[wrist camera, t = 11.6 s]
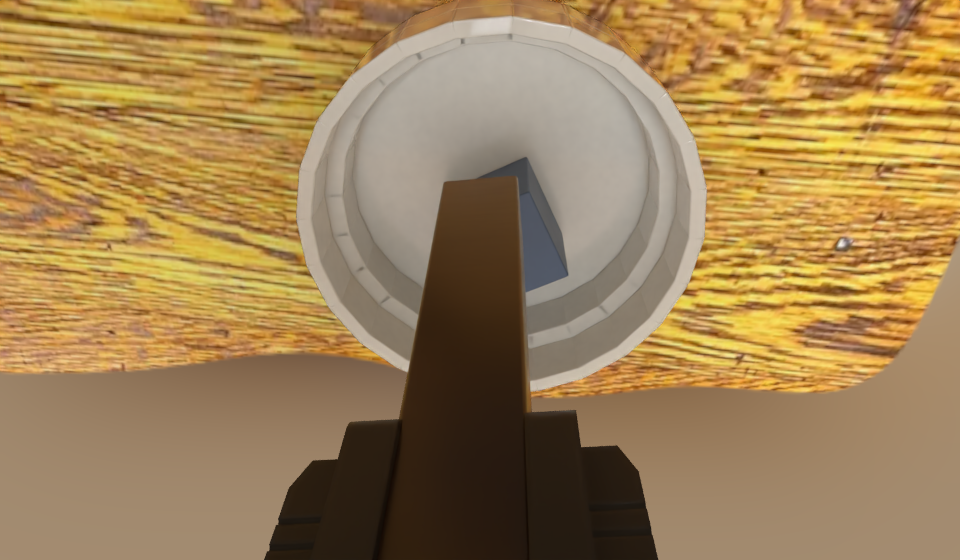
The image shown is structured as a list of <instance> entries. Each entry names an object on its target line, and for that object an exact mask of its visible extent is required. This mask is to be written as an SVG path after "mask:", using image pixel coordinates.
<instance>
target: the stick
mask: <svg viewBox="0 0 960 560" xmlns="http://www.w3.org/2000/svg"><path fill="white" fill-rule="evenodd" d="M530 412H532V411H531V390H530V370H529V351H528V331H527V311H526V292H525V272H524V252H523V236H522V223H521V211H520V198H519V186H518V178H517V176H505V177H493V178H481V179H469V180H457V181H446V182H444V183H443V187H442V193H441V198H440V203H439V209H438V214H437V219H436V225H435V230H434V235H433V241H432V246H431V251H430V257H429V262H428V267H427V273H426V278H425V283H424V289H423V294H422V299H421V304H420V310H419V315H418V320H417V326H416V331H415V336H414V342H413V347H412V352H411V358H410V363H409V368H408V374H407V379H406V384H405V390H404V395H403V400H402V406H401V411H400V417H399V419H401V420H402V424H401V429H400V435H399V440H398V446H397V451H396V457H395V462H394V468H393V473H392V479H391V484H390V490H389V495H388V501H387V506H386V512H385V517H384V523H383V528H382V534H381V539H380V545H379V550H378V556H377V560H529V534H528V505H527V477H526V448H525V419H524V413H530Z"/></svg>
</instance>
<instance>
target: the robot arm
mask: <svg viewBox="0 0 960 560" xmlns="http://www.w3.org/2000/svg"><path fill="white" fill-rule="evenodd" d="M524 419H525V448H526V477H527V505H528V534H529V560H658V557H657V553H656V548H655V544H654V539H653V536H652V533H651V526H650V521H649V517H648V512H647V509H646V504H645V498H644V494H643V489H642V485H641V480H640V476H639V471H638V470H637V469H636V468H635V467H634V465H633V464H632V463H631V462H630V460H629V459H628V458H627V457H626V456H625V454H624V453H623V452H622V451H621V450H620V448H619V447H618V446H599V447H581V444H580V437H579V430H578V423H577V422H578V421H577V414H576V410H570V411H549V412H530V413H524ZM401 424H402V420H401V419H398V420H397V419H396V420H377V421H359V422H350V423H349V424H348V426H347V428H346V432H345V435H344V439H343V442H342V446H341V450H340V453H339V457H338V459H335V460H318V461H317V460H316V461H312V462H311V463H310V464H309V466H308V467H307V468H306V469H305V470H304V471H303V473H302V474H301V475H300V476H299V477H298V478H297V479H296V481H295V482H294V483H293V484H292V485H291V486H290V487H289V489H288V492H287V495H286V498H285V501H284V504H283V507H282V510H281V513H280V516H279V518H278V520H279V523H278V525H276V527H275V530H274V533H273V536H272V539H271V541H270V544H269V545H270V550H269V551H268V552H267V553H266V556H265V559H264V560H377V556H378V550H379V545H380V539H381V534H382V528H383V523H384V517H385V512H386V506H387V501H388V495H389V490H390V484H391V479H392V473H393V468H394V462H395V457H396V451H397V446H398V440H399V435H400V429H401Z"/></svg>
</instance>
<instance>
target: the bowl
mask: <svg viewBox="0 0 960 560" xmlns="http://www.w3.org/2000/svg"><path fill="white" fill-rule="evenodd" d="M524 157H527V158H528V160H529V162H530V165H531V167H532V169H533V171H534V173H535V175H536V178H537V180H538V182H539V184H540V186H541V189H542V191H543V193H544V195H545V197H546V199H547V202H548V204H549V206H550V208H551V210H552V213H553V215H554V217H555V219H556V221H557V223H558V226H559V228H560V230H561V232H562V236H563V242H564V249H565V255H566V261H567V268H568V276H567V277H565V278H562V279H560V280H557V281H555V282H552V283H549V284H547V285H544V286H542V287H539V288H537V289H534V290H531V291H529V292H526V311H527V331H528V351H529V370H530V390H531V391H537V390H538V391H540V390H544V389H547V388H551V387H555V386H558V385H562V384H565V383H569V382H573V381H576V380H580V379H583V378H585V377H587V376H589V375H591V374H593V373H595V372H596V371H598V370H600V369H602V368H604V367H606V366H608V365H609V364H611V363H613V362H615V361H617V360H619V359H621V358H623V357H624V356H626V355H627V354H628V353H630V352H631V351H632V350H633V349H634V348H635V347H636V346H638V345H639V344H640V343H641V342H642V341H643V340H644V339H645V338H647V337H648V336H649V335H650V334H651V333H652V332H653V331H655V330H656V329H657V328H658V327H659V326H660V325H661V323H662V322H663V321H664V319H665V318H666V317H667V315H668V314H669V312H670V311H671V309H672V308H673V306H674V305H675V303H676V302H677V300H678V299H679V298H680V296H681V295H682V293H683V292H684V290H685V289H686V287H687V285H688V283H689V281H690V278H691V275H692V273H693V270H694V267H695V264H696V261H697V258H698V255H699V252H700V249H701V247H702V244H703V241H704V237H705V219H706V201H707V189H706V187H707V186H706V182H705V178H704V174H703V170H702V165H701V161H700V157H699V153H698V149H697V145H696V141H695V139H694V136H693V134H692V132H691V131H690V129H689V127H688V126H687V124H686V122H685V121H684V119H683V117H682V115H681V114H680V112H679V110H678V109H677V107H676V105H675V104H674V102H673V100H672V99H671V97H670V95H669V93H668V92H667V91H666V89H665V88H664V86H663V85H662V84H661V82H660V81H659V79H658V78H657V77H656V75H655V74H654V72H653V71H652V70H651V68H650V67H649V66H648V64H647V63H646V61H644V59H643V58H642V57H641V56H640V55H639V54H638V53H637V52H635V51H634V50H633V49H632V48H631V47H630V46H629V45H628V44H627V43H626V42H625V41H624V40H623V39H621V38H620V37H619V36H618V35H617V34H616V33H615V32H614V31H613V30H612V29H611V28H609V27H607V26H606V25H605V24H603V23H601V22H599V21H597V20H595V19H593V18H591V17H589V16H587V15H585V14H583V13H581V12H579V11H577V10H575V9H573V8H571V7H569V6H567V5H564V4H563V5H562V4H561V3H558V2H553V1H548V0H453V1H451V2H448V3H446V4H443V5H440V6H438V7H435V8H433V9H430V10H427V11H425V12H422V13H420V14H417V15H414V16H412V17H411V18H409V19H408V20H406V21H405V22H404V23H402V24H401V25H400V26H398V27H397V28H396V29H394V30H393V31H392V32H390V33H389V34H388V35H386V36H385V37H384V38H382V39H381V40H380V41H378V42H377V43H376V44H374V45H373V46H372V47H371V48H370V49H369V50H368V52H367V53H366V54H365V56H364V57H363V58H362V60H361V61H360V62H359V64H358V65H357V66H356V68H355V69H354V70H353V72H352V73H351V74H350V76H349V77H348V78H347V80H346V81H345V82H344V84H343V85H342V86H341V88H340V89H339V91H338V92H337V93H336V95H335V96H334V97H333V99H332V100H331V101H330V103H329V104H328V106H327V107H326V108H325V110H324V111H323V112H322V114H321V115H320V117H319V118H318V120H317V122H316V124H315V127H314V130H313V132H312V135H311V138H310V141H309V143H308V146H307V149H306V151H305V154H304V157H303V159H302V162H301V165H300V170H299V179H298V194H297V210H296V218H297V219H296V221H297V225H298V230H299V234H300V239H301V244H302V248H303V253H304V257H305V262H306V265H307V268H308V270H309V271H310V273H311V275H312V277H313V279H314V281H315V283H316V285H317V287H318V288H319V290H320V292H321V294H322V296H323V298H324V300H325V302H326V304H327V306H328V307H329V309H330V310H331V311H332V312H333V313H334V315H335V316H336V317H337V318H338V319H339V320H340V321H341V322H342V323H343V324H344V325H345V327H346V328H347V329H348V330H349V331H350V332H351V333H352V334H353V335H354V336H355V338H356V339H357V340H358V341H359V342H361V344H363V345H364V346H366V347H367V348H369V349H370V350H371V351H373V352H374V353H376V354H377V355H379V356H380V357H382V358H383V359H385V360H386V361H388V362H389V363H391V364H392V365H394V366H395V367H397V368H398V369H401V370H403V371H405V372H408V368H409V363H410V358H411V352H412V347H413V342H414V336H415V331H416V326H417V320H418V315H419V310H420V304H421V299H422V294H423V289H424V283H425V278H426V273H427V267H428V262H429V257H430V251H431V246H432V241H433V235H434V230H435V225H436V219H437V214H438V209H439V203H440V198H441V193H442V187H443V183H444V182H446V181H457V180H469V179H476V178H478V177H480V176H483V175H485V174H487V173H490V172H492V171H494V170H497V169H499V168H501V167H504V166H506V165H508V164H510V163H513V162H515V161H517V160H520V159H522V158H524Z"/></svg>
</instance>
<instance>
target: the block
mask: <svg viewBox="0 0 960 560" xmlns="http://www.w3.org/2000/svg"><path fill="white" fill-rule="evenodd" d="M505 176H517V178H518V186H519V198H520V211H521V223H522V236H523V252H524V272H525V292H529V291H531V290H534V289H537V288H539V287H542V286H544V285H547V284H549V283H552V282H555V281H557V280H560V279H562V278H565V277H567V276H568V268H567V261H566V255H565V249H564V242H563V236H562V232H561V230H560V228H559V226H558V223H557V221H556V219H555V217H554V215H553V213H552V210H551V208H550V206H549V204H548V202H547V199H546V197H545V195H544V193H543V191H542V189H541V186H540V184H539V182H538V180H537V178H536V175H535V173H534V171H533V169H532V167H531V165H530V162H529V160H528V158H527V157H524V158H522V159H520V160H517V161H515V162H513V163H510V164H508V165H506V166H504V167H501V168H499V169H497V170H494V171H492V172H490V173H487V174H485V175H483V176H480V177H478V178H476V179H481V178H493V177H505Z"/></svg>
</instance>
